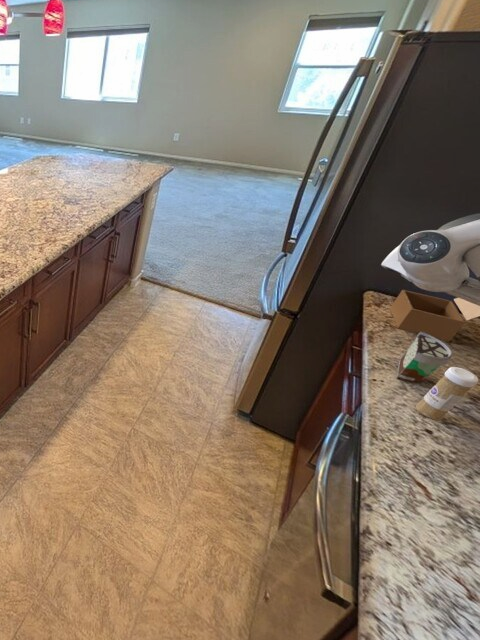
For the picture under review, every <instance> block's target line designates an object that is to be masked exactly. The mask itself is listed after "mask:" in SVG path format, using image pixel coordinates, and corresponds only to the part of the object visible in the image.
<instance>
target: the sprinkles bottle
mask: <svg viewBox="0 0 480 640" xmlns="http://www.w3.org/2000/svg"><path fill="white" fill-rule="evenodd" d="M479 382H480V379H479V377H478V376H477V375H476V374H474V373H472V372H471V371H469V370H467V369H465V368H462V367H457V366H450V367H449V368H448V369H447V370H446V371H445V372H444V374H443V376H442V377H441V378H440V379H439V380H438V381H437V382H436V384H434V386H433V387H432V388H430V389H429V391H427V393H426V394H425V395H424V397H423V398H422V399H421V400H420V401H419V402H418V403H416V404H415V408H416V410H417V412H419V413H420V414H421V415H422V416H425V417H427V418H428V419H431V420H432V419H433V420H437V421H440V420H443V418H444V416H445V415H446V414H447V413H448V412H450V411H451V410H452V409H453V408H454V407H455V406H456V405H457V404H458V403H459V402H460V401H461V399H463V398H464V396H465V395H466V394H467V393H468V392H469V391H470V390H471V389H472V388H474V387H476V385H477V384H478V383H479Z"/></svg>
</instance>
